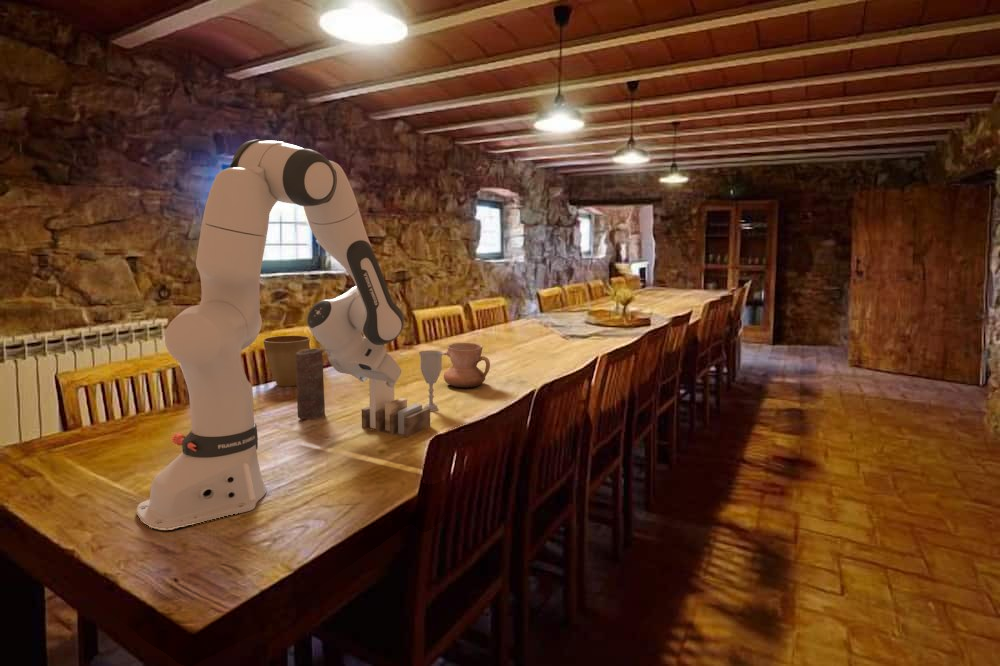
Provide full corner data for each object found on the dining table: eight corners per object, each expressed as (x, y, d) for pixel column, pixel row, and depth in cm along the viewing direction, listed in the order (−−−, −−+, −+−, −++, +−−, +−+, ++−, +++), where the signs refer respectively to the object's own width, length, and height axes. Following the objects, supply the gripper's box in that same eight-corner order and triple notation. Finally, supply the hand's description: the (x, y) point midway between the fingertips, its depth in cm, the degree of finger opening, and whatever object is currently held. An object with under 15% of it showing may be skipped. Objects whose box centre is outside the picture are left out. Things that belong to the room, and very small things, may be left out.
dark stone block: (316, 424, 162) (314, 352, 159) (292, 422, 164) (289, 351, 160) (329, 416, 169) (328, 347, 166) (306, 414, 171) (304, 346, 168)
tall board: (376, 428, 156) (375, 369, 154) (370, 427, 157) (369, 368, 155) (394, 420, 163) (394, 364, 161) (388, 419, 164) (388, 363, 162)
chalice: (414, 413, 174) (413, 353, 171) (427, 407, 180) (427, 349, 177) (434, 417, 170) (435, 356, 167) (447, 411, 176) (448, 352, 173)
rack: (408, 440, 151) (407, 418, 150) (362, 431, 157) (361, 409, 156) (430, 429, 159) (430, 408, 158) (385, 420, 166) (385, 400, 165)
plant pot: (320, 383, 206) (319, 337, 203) (284, 392, 194) (282, 344, 191) (292, 376, 214) (290, 333, 211) (256, 385, 201) (253, 338, 199)
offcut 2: (404, 434, 152) (404, 412, 151) (398, 433, 153) (397, 411, 152) (422, 426, 159) (422, 404, 158) (416, 424, 160) (415, 403, 159)
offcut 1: (391, 431, 155) (390, 405, 154) (385, 429, 156) (384, 404, 154) (407, 423, 161) (406, 399, 160) (401, 422, 162) (400, 397, 161)
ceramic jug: (432, 386, 205) (433, 346, 202) (453, 377, 217) (454, 339, 215) (478, 394, 197) (479, 352, 194) (497, 384, 210) (498, 345, 207)
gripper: (315, 357, 150) (342, 386, 161) (378, 368, 141) (403, 398, 151) (327, 337, 154) (354, 367, 164) (390, 346, 144) (413, 378, 154)
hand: (378, 382), depth 157 cm, fingers open, 8 cm apart
